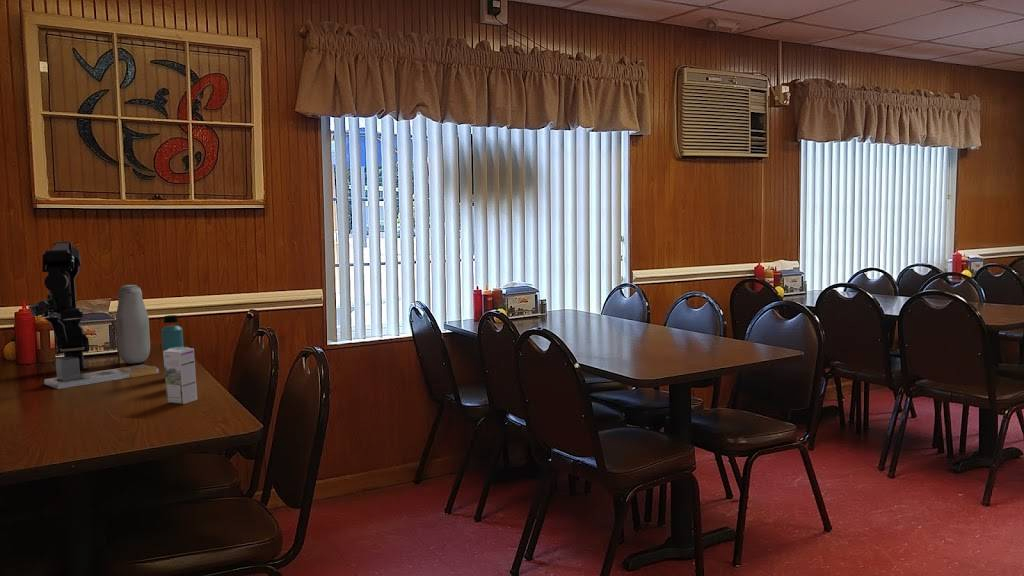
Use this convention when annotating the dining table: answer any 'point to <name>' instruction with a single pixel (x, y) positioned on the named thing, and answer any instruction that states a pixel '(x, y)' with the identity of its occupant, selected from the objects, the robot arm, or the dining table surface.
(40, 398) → the dining table surface
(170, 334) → the beverage bottle
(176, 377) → the syrup box
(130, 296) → the glass bottle
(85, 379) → the white flat frame
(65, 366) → the steel block
